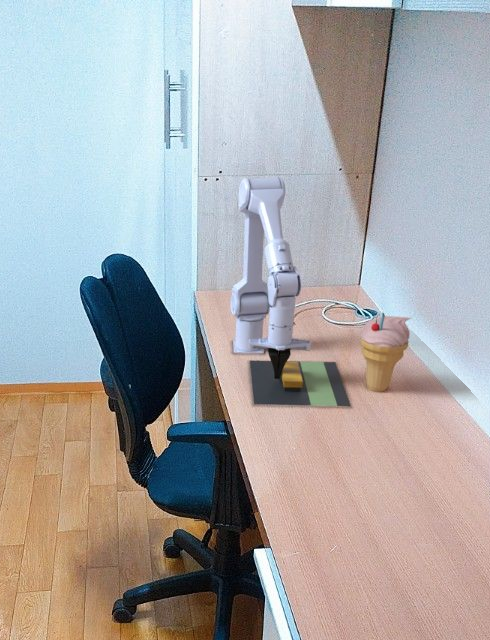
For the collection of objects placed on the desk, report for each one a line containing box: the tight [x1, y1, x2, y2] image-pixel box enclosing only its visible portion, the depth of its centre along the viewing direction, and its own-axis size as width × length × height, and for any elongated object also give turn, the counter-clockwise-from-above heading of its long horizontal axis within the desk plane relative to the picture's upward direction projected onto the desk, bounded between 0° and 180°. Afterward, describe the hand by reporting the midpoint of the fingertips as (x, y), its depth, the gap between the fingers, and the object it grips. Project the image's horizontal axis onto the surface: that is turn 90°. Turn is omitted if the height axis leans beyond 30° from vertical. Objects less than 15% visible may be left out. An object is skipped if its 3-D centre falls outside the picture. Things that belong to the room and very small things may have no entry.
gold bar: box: [281, 361, 303, 392], centre depth 177 cm, size 12×4×3 cm, turn 178°
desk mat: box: [249, 360, 351, 407], centre depth 178 cm, size 26×22×1 cm
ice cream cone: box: [359, 312, 412, 393], centre depth 170 cm, size 11×11×20 cm
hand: (276, 377), depth 177 cm, fingers closed
